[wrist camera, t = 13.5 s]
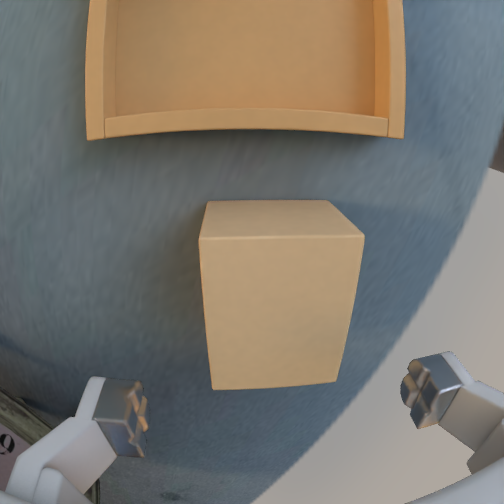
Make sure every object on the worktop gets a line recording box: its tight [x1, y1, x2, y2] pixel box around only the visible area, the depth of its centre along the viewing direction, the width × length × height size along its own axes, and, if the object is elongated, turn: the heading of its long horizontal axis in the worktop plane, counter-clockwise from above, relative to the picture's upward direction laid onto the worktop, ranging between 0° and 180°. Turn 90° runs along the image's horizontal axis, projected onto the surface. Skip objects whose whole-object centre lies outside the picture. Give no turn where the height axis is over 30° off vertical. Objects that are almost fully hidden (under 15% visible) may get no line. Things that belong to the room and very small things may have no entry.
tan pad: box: [199, 200, 365, 390], centre depth 14 cm, size 6×7×4 cm
